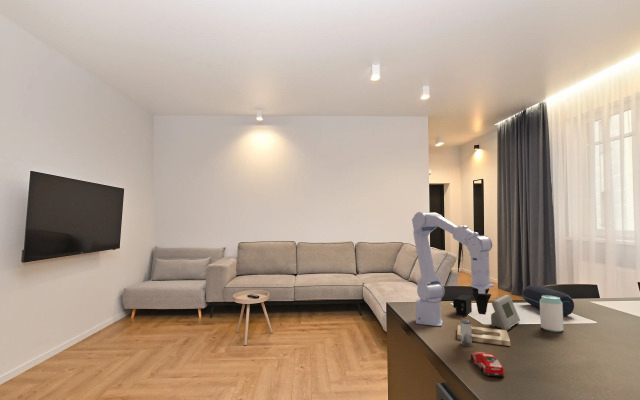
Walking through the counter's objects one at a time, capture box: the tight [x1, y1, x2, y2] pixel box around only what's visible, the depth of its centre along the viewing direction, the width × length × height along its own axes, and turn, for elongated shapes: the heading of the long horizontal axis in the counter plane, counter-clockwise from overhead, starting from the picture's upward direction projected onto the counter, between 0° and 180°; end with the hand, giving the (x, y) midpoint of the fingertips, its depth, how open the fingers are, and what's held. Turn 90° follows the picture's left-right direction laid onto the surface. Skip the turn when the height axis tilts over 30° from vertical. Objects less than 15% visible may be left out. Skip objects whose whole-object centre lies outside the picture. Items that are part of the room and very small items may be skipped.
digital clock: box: [490, 294, 521, 331], centre depth 132 cm, size 16×9×11 cm, turn 123°
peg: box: [460, 318, 473, 347], centre depth 111 cm, size 3×3×8 cm
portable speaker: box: [522, 284, 575, 317], centre depth 153 cm, size 25×10×10 cm, turn 179°
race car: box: [470, 351, 505, 377], centre depth 94 cm, size 13×5×4 cm, turn 173°
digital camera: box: [452, 294, 473, 317], centre depth 150 cm, size 10×5×7 cm, turn 145°
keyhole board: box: [456, 324, 511, 347], centre depth 118 cm, size 16×12×2 cm
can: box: [539, 296, 565, 333], centre depth 126 cm, size 7×7×12 cm
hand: (481, 311), depth 116 cm, fingers open, 7 cm apart
